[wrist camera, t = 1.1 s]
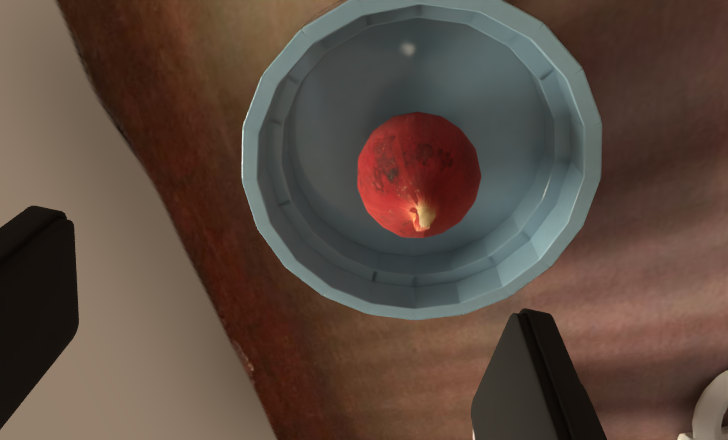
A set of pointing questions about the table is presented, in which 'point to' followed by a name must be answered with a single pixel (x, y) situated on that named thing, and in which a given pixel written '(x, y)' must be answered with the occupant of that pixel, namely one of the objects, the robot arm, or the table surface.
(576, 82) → the pan
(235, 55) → the table surface
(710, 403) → the mug
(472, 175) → the onion
